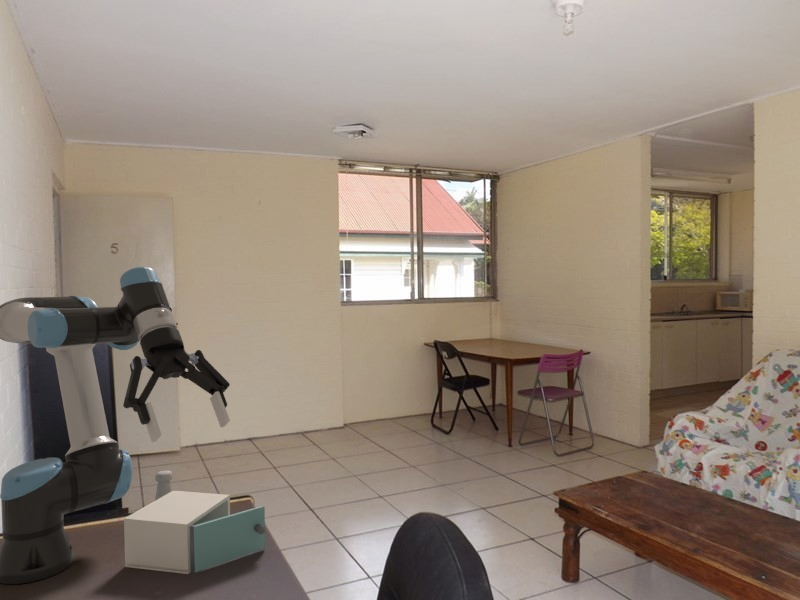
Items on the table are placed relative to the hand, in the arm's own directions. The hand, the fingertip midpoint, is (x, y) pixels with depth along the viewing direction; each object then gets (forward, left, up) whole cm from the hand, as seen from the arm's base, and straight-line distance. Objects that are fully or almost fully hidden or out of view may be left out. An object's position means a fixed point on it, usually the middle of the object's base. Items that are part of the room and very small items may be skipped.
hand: (192, 431), depth 107 cm
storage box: (-20, +25, -36) cm, 48 cm away
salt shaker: (-36, +41, -36) cm, 66 cm away
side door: (-6, +22, -35) cm, 42 cm away
